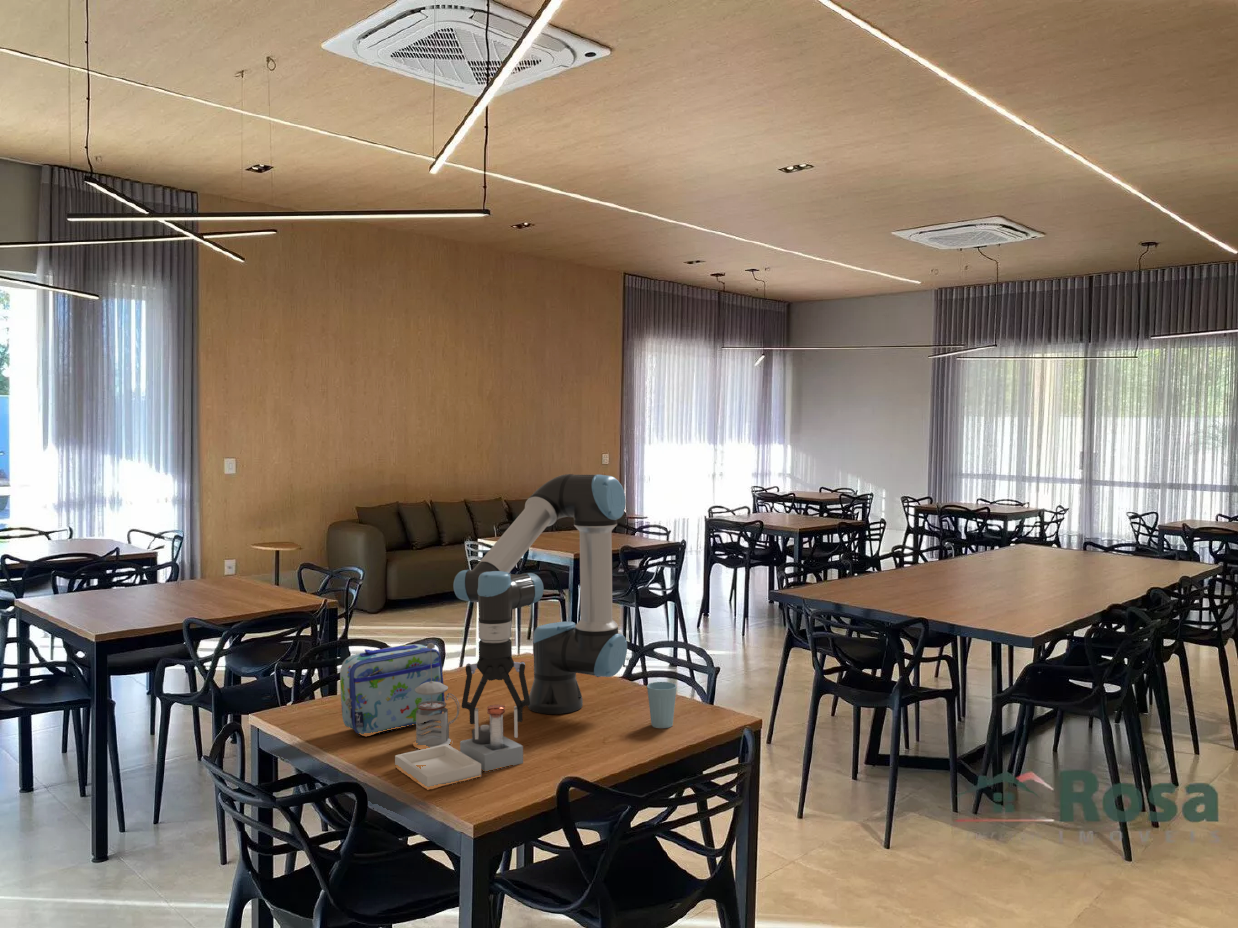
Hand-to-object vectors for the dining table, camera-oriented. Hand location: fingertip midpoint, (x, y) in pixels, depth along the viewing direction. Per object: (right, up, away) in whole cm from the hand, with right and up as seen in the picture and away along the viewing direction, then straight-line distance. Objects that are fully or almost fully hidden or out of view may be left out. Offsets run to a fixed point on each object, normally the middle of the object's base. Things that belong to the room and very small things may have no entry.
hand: (496, 736), depth 222 cm
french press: (-17, -6, +15) cm, 23 cm away
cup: (+40, -5, +28) cm, 48 cm away
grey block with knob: (-1, -6, +2) cm, 7 cm away
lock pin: (0, -6, 0) cm, 6 cm away
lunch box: (-30, -6, +28) cm, 42 cm away
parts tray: (-13, -7, -5) cm, 15 cm away
